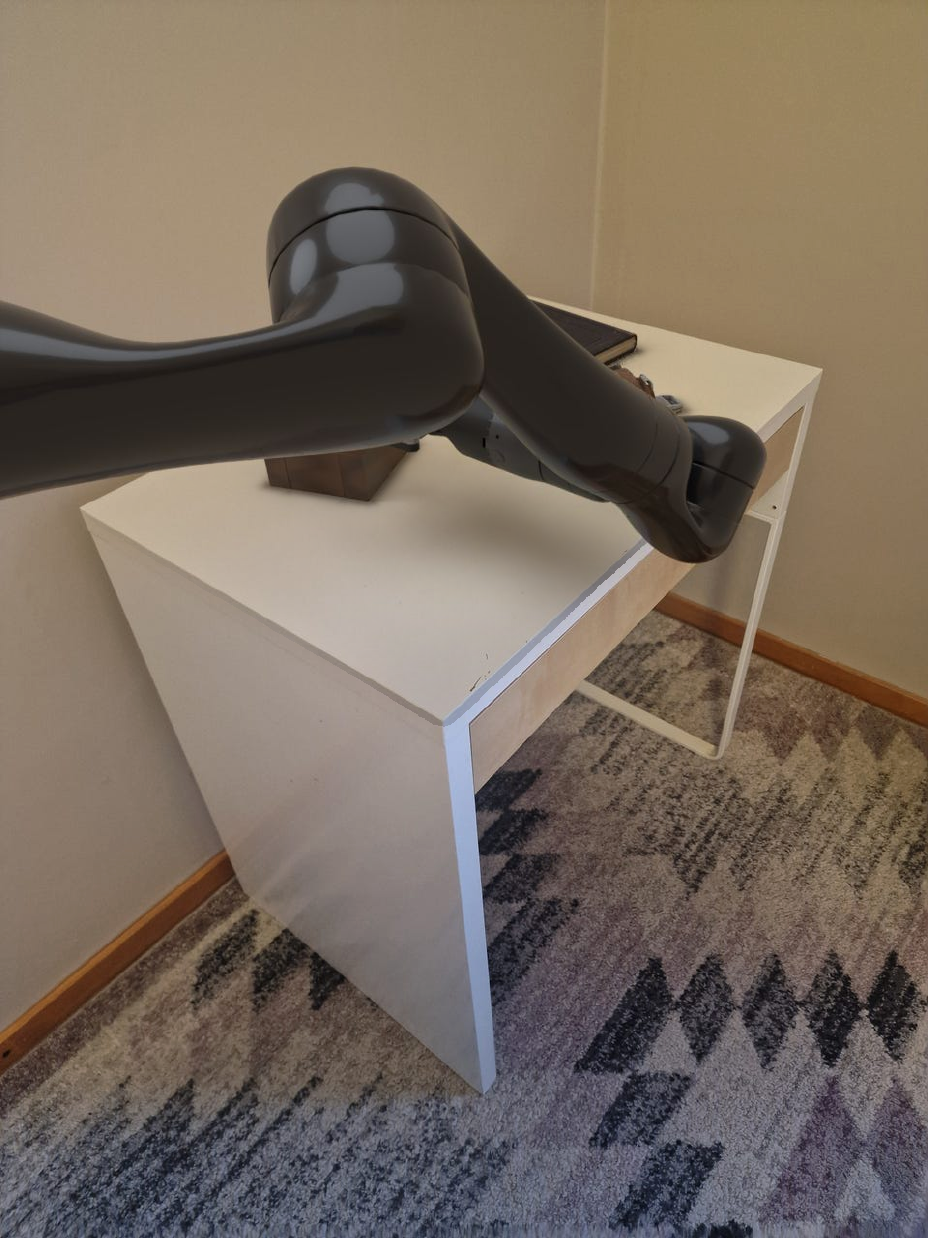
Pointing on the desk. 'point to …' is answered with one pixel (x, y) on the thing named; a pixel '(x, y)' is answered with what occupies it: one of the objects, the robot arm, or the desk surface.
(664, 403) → the strap clip
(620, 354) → the hardcover book
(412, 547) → the desk surface
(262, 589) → the desk surface
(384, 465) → the holder
